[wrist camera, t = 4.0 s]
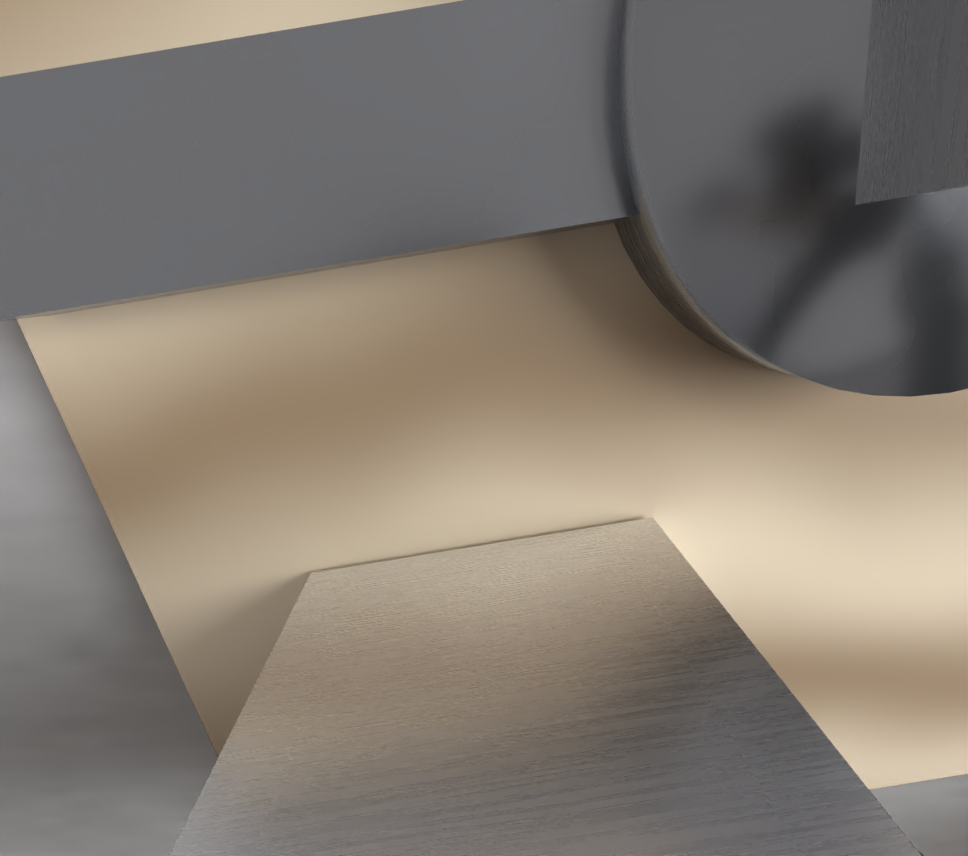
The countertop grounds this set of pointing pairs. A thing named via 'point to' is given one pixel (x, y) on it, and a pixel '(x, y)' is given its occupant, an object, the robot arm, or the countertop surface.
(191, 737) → the countertop surface
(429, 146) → the grey frying pan
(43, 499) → the countertop surface
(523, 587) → the tan box
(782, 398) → the workboard
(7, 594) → the countertop surface
